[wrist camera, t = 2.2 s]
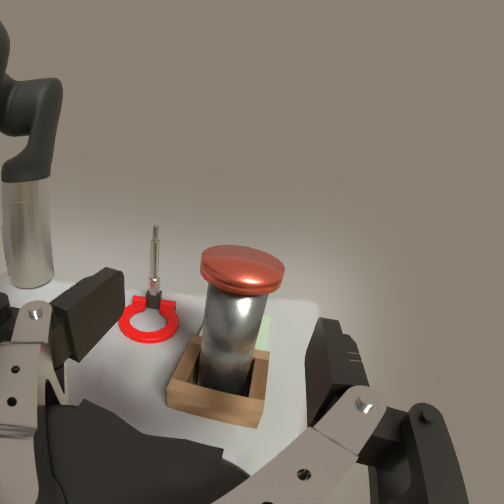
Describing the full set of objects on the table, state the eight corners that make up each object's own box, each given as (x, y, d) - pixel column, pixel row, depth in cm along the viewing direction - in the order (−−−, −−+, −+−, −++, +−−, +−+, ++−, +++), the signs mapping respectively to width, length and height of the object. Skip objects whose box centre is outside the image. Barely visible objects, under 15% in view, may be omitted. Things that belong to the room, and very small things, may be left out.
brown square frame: (167, 406, 23) (166, 388, 22) (191, 352, 31) (193, 334, 30) (256, 428, 22) (263, 412, 21) (264, 369, 31) (269, 351, 30)
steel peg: (181, 401, 24) (190, 267, 19) (198, 361, 30) (213, 239, 25) (246, 417, 24) (284, 288, 18) (253, 374, 30) (284, 255, 25)
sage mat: (197, 340, 34) (197, 337, 33) (213, 306, 42) (213, 303, 42) (265, 356, 33) (266, 353, 33) (269, 319, 42) (270, 316, 41)
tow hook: (174, 350, 32) (182, 308, 40) (178, 257, 27) (188, 227, 35) (111, 339, 30) (129, 300, 39) (101, 247, 25) (127, 219, 34)
